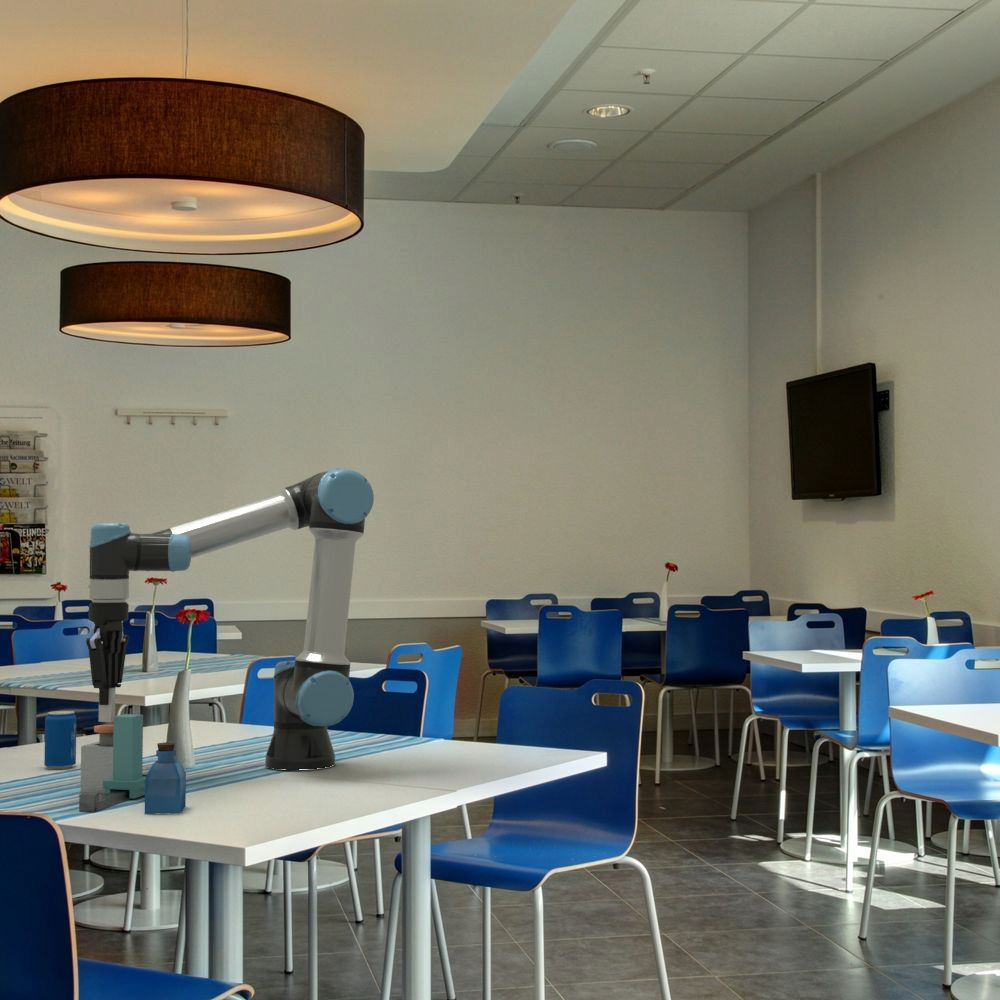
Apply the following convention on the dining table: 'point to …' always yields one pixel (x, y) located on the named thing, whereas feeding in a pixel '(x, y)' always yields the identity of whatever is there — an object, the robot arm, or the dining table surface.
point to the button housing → (95, 767)
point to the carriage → (127, 756)
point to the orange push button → (105, 734)
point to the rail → (102, 799)
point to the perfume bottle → (165, 783)
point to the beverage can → (60, 740)
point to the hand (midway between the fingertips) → (106, 721)
